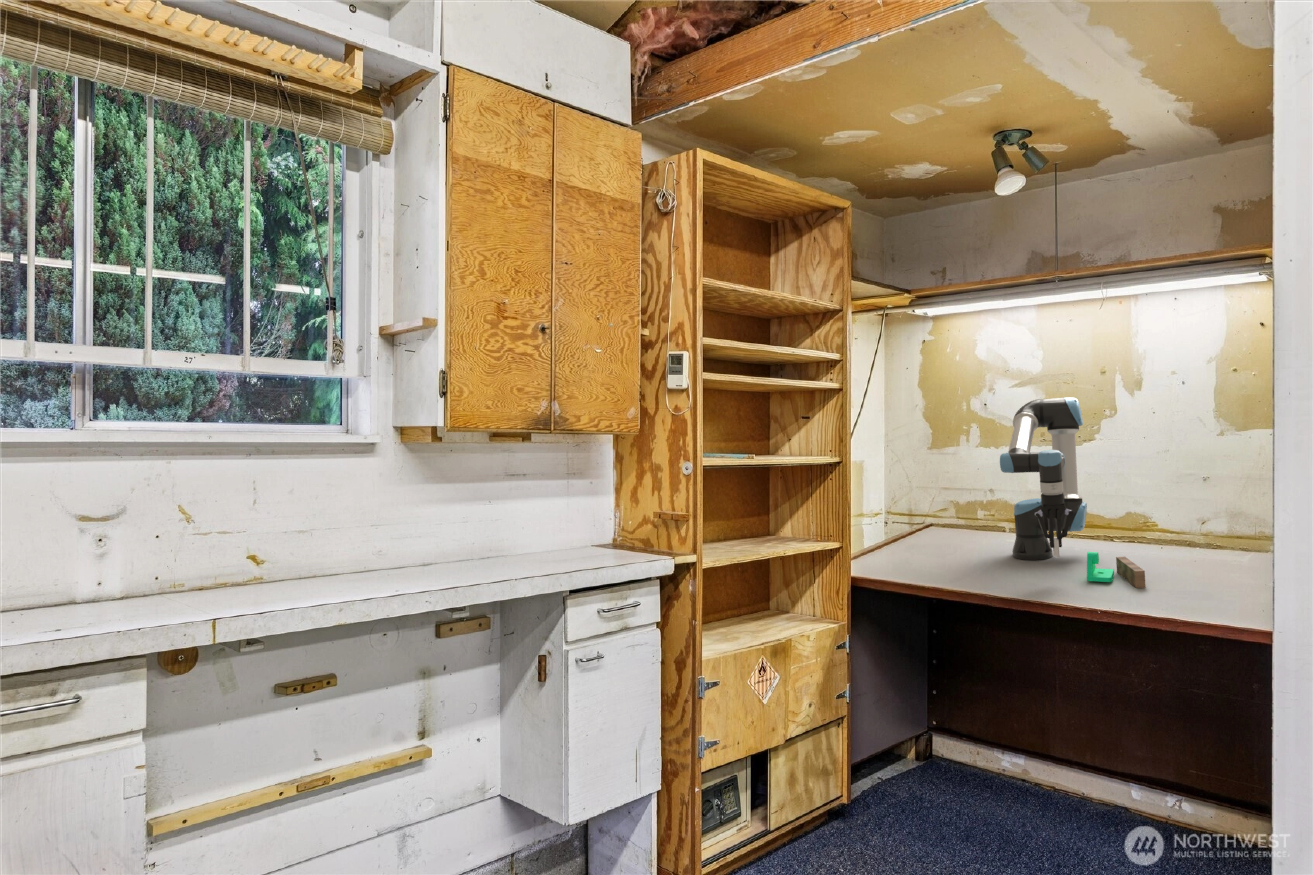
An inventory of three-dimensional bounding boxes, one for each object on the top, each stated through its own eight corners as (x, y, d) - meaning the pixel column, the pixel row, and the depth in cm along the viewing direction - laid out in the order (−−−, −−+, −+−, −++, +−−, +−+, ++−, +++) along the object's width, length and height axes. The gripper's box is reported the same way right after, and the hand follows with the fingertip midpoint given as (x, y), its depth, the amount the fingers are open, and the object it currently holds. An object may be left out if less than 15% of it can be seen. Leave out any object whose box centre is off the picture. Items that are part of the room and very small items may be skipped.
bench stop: (1117, 572, 308) (1116, 557, 308) (1125, 572, 308) (1124, 556, 307) (1136, 588, 289) (1135, 571, 288) (1145, 587, 288) (1144, 570, 288)
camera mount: (1111, 585, 296) (1109, 556, 295) (1087, 583, 300) (1085, 556, 299) (1114, 576, 305) (1113, 548, 305) (1091, 575, 310) (1089, 548, 309)
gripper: (1035, 496, 299) (1040, 559, 302) (1074, 493, 296) (1078, 557, 299) (1030, 492, 307) (1035, 554, 309) (1068, 489, 304) (1072, 552, 306)
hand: (1056, 555), depth 304 cm, fingers closed
